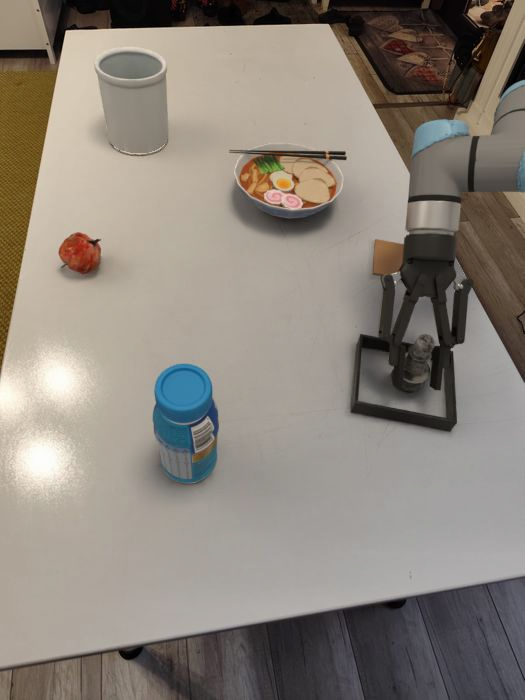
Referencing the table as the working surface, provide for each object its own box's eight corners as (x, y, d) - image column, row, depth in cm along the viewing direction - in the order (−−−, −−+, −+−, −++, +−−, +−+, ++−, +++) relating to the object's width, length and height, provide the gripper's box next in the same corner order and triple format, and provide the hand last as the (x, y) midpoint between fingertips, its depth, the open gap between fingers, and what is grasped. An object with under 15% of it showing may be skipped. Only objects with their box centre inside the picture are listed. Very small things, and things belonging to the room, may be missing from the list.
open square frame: (446, 361, 91) (453, 351, 88) (450, 431, 82) (457, 422, 80) (356, 344, 91) (360, 333, 89) (350, 412, 83) (354, 402, 81)
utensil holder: (145, 114, 129) (136, 39, 115) (184, 141, 123) (181, 66, 109) (94, 135, 122) (79, 58, 108) (134, 165, 116) (123, 87, 102)
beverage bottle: (157, 485, 73) (142, 417, 57) (162, 431, 78) (150, 355, 62) (217, 486, 74) (218, 418, 58) (218, 432, 79) (220, 357, 63)
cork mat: (422, 249, 107) (423, 247, 107) (423, 283, 101) (424, 281, 101) (374, 240, 108) (375, 238, 107) (372, 274, 102) (373, 272, 101)
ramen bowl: (226, 235, 105) (227, 202, 98) (228, 167, 119) (229, 134, 112) (347, 241, 107) (356, 210, 100) (336, 174, 120) (343, 142, 114)
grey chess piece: (420, 366, 87) (445, 320, 77) (426, 396, 84) (453, 352, 74) (385, 364, 87) (406, 318, 77) (390, 394, 83) (412, 350, 74)
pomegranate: (70, 291, 96) (109, 269, 92) (38, 265, 92) (77, 240, 87) (80, 266, 101) (117, 244, 97) (50, 240, 97) (88, 215, 92)
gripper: (479, 239, 81) (463, 384, 84) (363, 232, 80) (352, 380, 83) (503, 236, 74) (485, 395, 77) (376, 228, 73) (363, 391, 76)
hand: (416, 387), depth 80 cm, fingers closed on grey chess piece, 5 cm apart
